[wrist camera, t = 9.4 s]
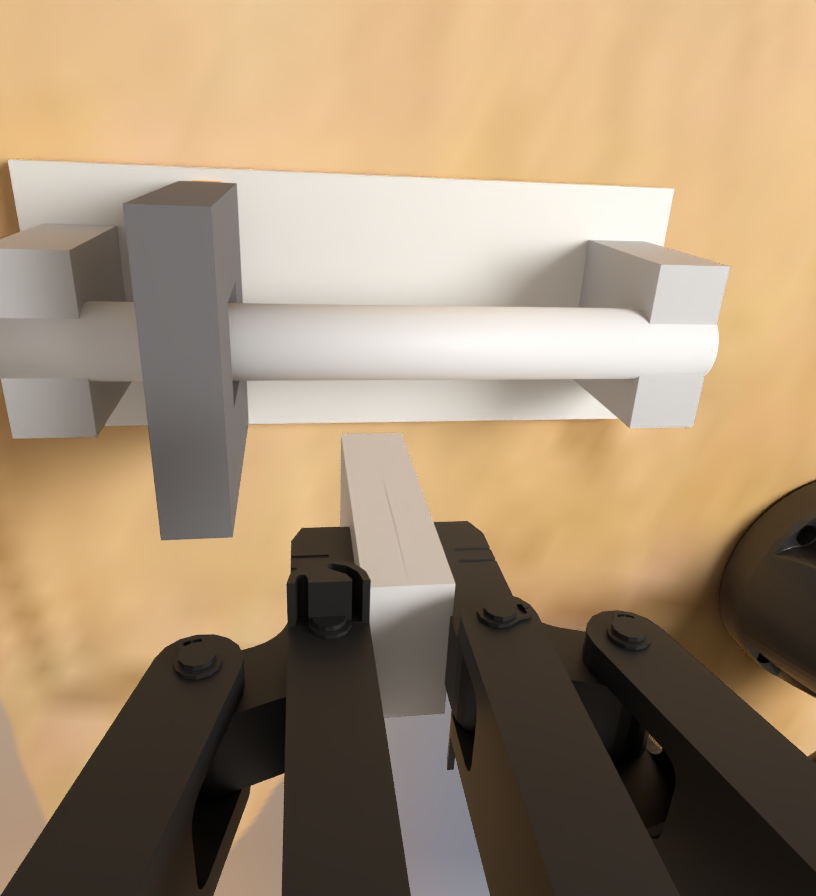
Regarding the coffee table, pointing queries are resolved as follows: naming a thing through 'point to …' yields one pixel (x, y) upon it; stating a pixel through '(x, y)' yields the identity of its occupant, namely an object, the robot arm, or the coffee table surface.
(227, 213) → the collar
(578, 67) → the coffee table surface
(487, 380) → the pipe stand
